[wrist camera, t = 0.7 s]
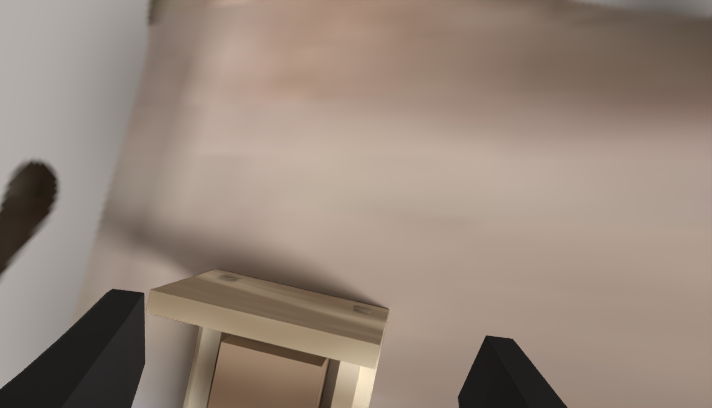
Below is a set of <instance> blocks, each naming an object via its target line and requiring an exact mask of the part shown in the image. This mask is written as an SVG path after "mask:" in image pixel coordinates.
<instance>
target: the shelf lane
mask: <svg viewBox="0 0 712 408" xmlns="http://www.w3.org/2000/svg"><path fill="white" fill-rule="evenodd" d="M146 313H148V314H152V315H156V316H160V317H165V318H169V319H173V320H177V321H181V322H185V323H189V324H193V325H197V326H199V331H198V336H197V341H196V346H195V351H194V356H193V361H192V365H191V370H190V375H189V380H188V385H187V390H186V395H185V400H184V404H183V408H208V404H209V399H210V394H211V389H212V384H213V379H214V375H215V370H216V365H217V360H218V355H219V350H220V346H221V342H222V341H223V340H225V339H226V338H228V337H229V336H231V335H232V334H233V335H238V336H242V337H246V338H250V339H254V340H258V341H262V342H266V343H270V344H274V345H278V346H282V347H286V348H290V349H294V350H298V351H302V352H306V353H311V354H315V355H319V356H323V357H327V358H331V359H330V364H329V368H328V373H327V378H326V383H325V387H324V392H323V397H322V402H321V407H320V408H369V403H370V398H371V394H372V389H373V384H374V379H375V375H376V370H377V365H378V360H379V356H380V351H381V346H382V342H383V337H384V332H385V327H386V323H387V318H388V313H389V309H385V308H381V307H377V306H373V305H368V304H364V303H360V302H355V301H351V300H347V299H342V298H338V297H334V296H330V295H325V294H321V293H317V292H312V291H308V290H304V289H299V288H295V287H291V286H287V285H282V284H278V283H274V282H269V281H265V280H261V279H257V278H252V277H248V276H244V275H239V274H235V273H231V272H226V271H222V270H218V269H216V270H212V271H209V272H206V273H203V274H200V275H196V276H193V277H190V278H187V279H183V280H180V281H177V282H174V283H171V284H167V285H164V286H161V287H158V288H154V289H151V290H150V293H149V298H148V303H147V308H146Z"/></svg>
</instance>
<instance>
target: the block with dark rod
mask: <svg viewBox="0 0 712 408" xmlns="http://www.w3.org/2000/svg"><path fill="white" fill-rule="evenodd" d="M330 359H331V358H327V357H323V356H319V355H315V354H311V353H306V352H302V351H298V350H294V349H290V348H286V347H282V346H278V345H274V344H270V343H266V342H262V341H258V340H254V339H250V338H246V337H242V336H238V335H233V334H232V335H231V336H229V337H228V338H226V339H225V340H223V341H222V342H221V346H220V350H219V355H218V360H217V365H216V370H215V375H214V379H213V384H212V389H211V394H210V399H209V404H208V408H320V407H321V402H322V397H323V392H324V387H325V383H326V378H327V373H328V368H329V364H330Z"/></svg>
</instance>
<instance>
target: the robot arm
mask: <svg viewBox="0 0 712 408" xmlns="http://www.w3.org/2000/svg"><path fill="white" fill-rule="evenodd" d="M144 365H145V315H144V293H141V292H133V291H125V290H117V289H112V290H110V291H109V292H107V293H106V294H105V295H104V296H103V297H102V298H101V299H100V300H99V301H98V302H97V303H96V304H95V305H94V306H93V307H92V308H91V309H90V310H89V311H88V312H87V313H86V314H85V315H84V316H83V317H81V318H80V319H79V320H78V321H77V322H76V323H75V324H74V325H73V326H72V327H71V328H70V329H69V330H68V331H67V332H66V333H65V334H63V335H62V336H61V337H60V338H59V339H58V340H57V341H56V342H55V343H54V344H52V345H51V346H50V347H49V348H48V349H47V350H46V351H45V352H43V353H42V354H41V355H40V356H39V357H38V358H37V359H36V360H34V361H33V362H32V363H31V364H30V365H29V366H28V367H27V368H25V369H24V370H23V371H22V372H21V373H19V374H18V375H17V376H16V377H15V378H13V379H12V380H11V381H10V382H8V383H7V384H6V385H5V386H4V387H2V388H1V389H0V408H131V406H132V403H133V400H134V397H135V394H136V391H137V388H138V384H139V381H140V378H141V375H142V371H143V368H144ZM458 402H459V408H567V406H566V405H565V404H564V403H563V401H562V400H561V399H560V398H559V397H558V395H557V394H556V393H555V392H554V390H553V389H552V388H551V386H550V385H549V384H548V383H547V381H546V380H545V379H544V378H543V376H542V375H541V374H540V372H539V371H538V370H537V369H536V367H535V366H534V365H533V364H532V362H531V361H530V360H529V358H528V357H527V356H526V355H525V353H524V352H523V351H522V350H521V348H520V347H519V346H518V345H517V344H516V342H515V341H514V340H513V339H510V338H502V337H494V336H486V337H485V339H484V341H483V343H482V345H481V348H480V350H479V352H478V354H477V356H476V359H475V361H474V363H473V365H472V367H471V370H470V372H469V374H468V376H467V378H466V381H465V383H464V385H463V387H462V389H461V391H460V394H459V396H458Z"/></svg>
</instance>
